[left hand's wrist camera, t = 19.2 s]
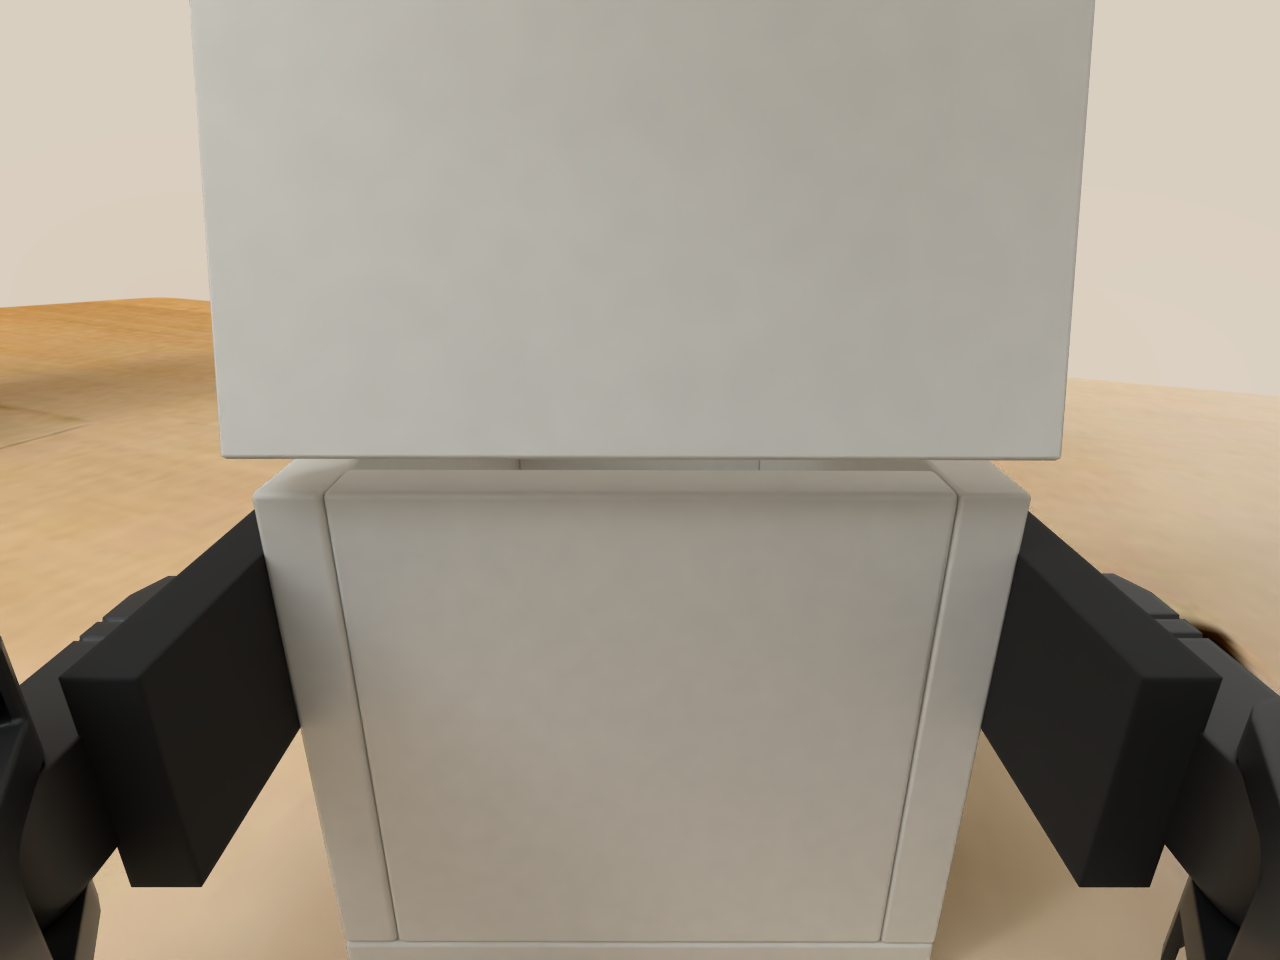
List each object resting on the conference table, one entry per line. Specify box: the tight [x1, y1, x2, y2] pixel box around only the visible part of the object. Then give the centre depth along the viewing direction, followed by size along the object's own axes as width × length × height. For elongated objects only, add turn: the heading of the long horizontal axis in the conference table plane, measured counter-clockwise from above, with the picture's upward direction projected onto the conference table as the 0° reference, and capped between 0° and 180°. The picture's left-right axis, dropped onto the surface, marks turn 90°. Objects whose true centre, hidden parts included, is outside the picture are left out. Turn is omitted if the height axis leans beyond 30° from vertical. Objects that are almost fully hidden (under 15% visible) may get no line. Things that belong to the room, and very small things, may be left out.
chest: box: [253, 459, 1031, 960], centre depth 18 cm, size 15×10×9 cm, turn 0°
